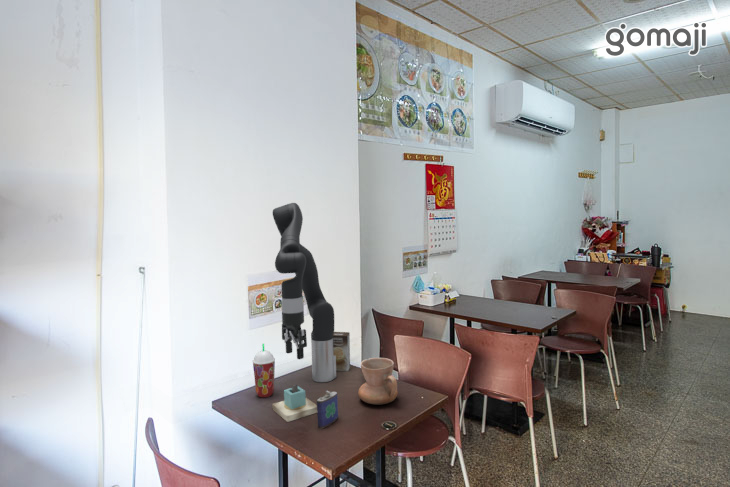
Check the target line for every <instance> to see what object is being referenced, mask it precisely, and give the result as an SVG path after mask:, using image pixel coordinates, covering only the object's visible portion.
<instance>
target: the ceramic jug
mask: <svg viewBox="0 0 730 487" xmlns="http://www.w3.org/2000/svg"><path fill="white" fill-rule="evenodd" d="M394 364H395V362H394V361H393V360H392V359H390V358H386V357H369V358H368V359H367V358H366V359H363V360H362V361H361V362H360V369H361V371H362V374H363V378H364V379H365V381H366V382H364V383H363V384H362V385H361V386H360V387H359V389H358V393H357V394H358V397H359V399H361V401H363V402H364V403H366V404H370V405H375V406H376V405H377V406H378V405H379V406H380V405H385V404H387V405H388V404H390V403H392V402H393V401H395V399H396V398H397V397H398V393H399V392H398V381H397V379H396V377H395V376H394V375H392V374H393V371H394Z"/></svg>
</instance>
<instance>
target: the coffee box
mask: <svg viewBox="0 0 730 487" xmlns="http://www.w3.org/2000/svg"><path fill="white" fill-rule="evenodd" d="M350 336H351V335H350V332H349V331H348V332H345V331H334V333H333V347H334V355H335V356H336V372H349V370H350V367H351V349H350V348H351V345H350V342H351V341H350Z"/></svg>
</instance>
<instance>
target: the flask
mask: <svg viewBox="0 0 730 487" xmlns="http://www.w3.org/2000/svg"><path fill="white" fill-rule="evenodd" d="M338 402H339V401H338V392H337V391H329V390H325V394H324V396H322V397H321V396H320V397H319V398H317V400H316V405H317V413H316V414H317V429H320V430H321V429H324V428H327V427H329V426H331V425H332V424H333V423H335V422H336V421H337V420H338V419H339V408H338V405H339V404H338Z"/></svg>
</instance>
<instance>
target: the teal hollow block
mask: <svg viewBox="0 0 730 487" xmlns="http://www.w3.org/2000/svg"><path fill="white" fill-rule="evenodd" d="M306 398H307V396H306V390H305V389H303V388H302V387H301V386H299V385H298V392H295V393H292V387H290V388H287V389H284V390H283V401H284V404H285V405H286V406H288V407H289V408H290V409H294V408H298V407H301V406H304V405H306Z"/></svg>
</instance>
